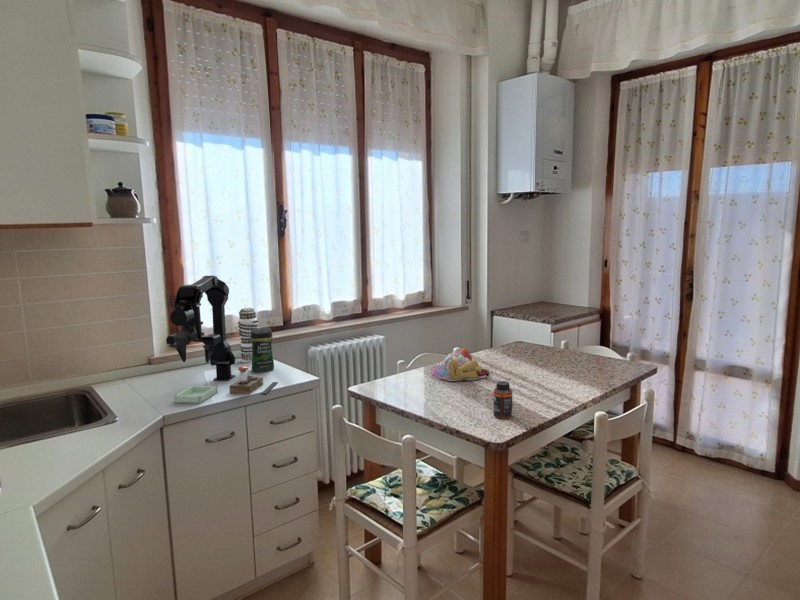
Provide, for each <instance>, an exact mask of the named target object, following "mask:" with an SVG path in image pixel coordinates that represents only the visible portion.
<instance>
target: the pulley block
mask: <svg viewBox="0 0 800 600" xmlns="http://www.w3.org/2000/svg"><path fill="white" fill-rule="evenodd" d="M247 380H248V384H247V385H245V384H241V381H240V378H239V379H238V380H237V381H235V382H233V383H231V384H230V385H229V394H237V395H238V394H239V395H241V394H242V395H251V394H252V393H253V392H255V391H257V390H258V388H260V387H262V386H263V385H264V377H263V376H258V375H257V374H249V375H248V374H247Z"/></svg>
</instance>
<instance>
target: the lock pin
mask: <svg viewBox="0 0 800 600" xmlns="http://www.w3.org/2000/svg"><path fill="white" fill-rule="evenodd" d="M237 369H238V371H239V379H240V381H241V384H245V385H247V384H248V380H247V375H248V370H249V366H248V365H242V366H238V368H237Z"/></svg>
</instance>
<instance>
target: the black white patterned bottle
mask: <svg viewBox="0 0 800 600" xmlns="http://www.w3.org/2000/svg"><path fill="white" fill-rule="evenodd" d="M238 314H239V315H238V317H239V318H238V322H237V324H238V328H239V329H238V332H239V333H238V334H239V338H240V359H241V362H242V363H252V342H251V340H250V335H251V330H253V329H259V328H258V327H259V325H258V324H257V323H259V321H258V320H257V310H255V308H253V307H243V308H241V309H240V310H239V312H238Z"/></svg>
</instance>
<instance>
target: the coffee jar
mask: <svg viewBox="0 0 800 600" xmlns="http://www.w3.org/2000/svg"><path fill="white" fill-rule="evenodd" d="M273 338H274V337H273V331H272V329H271V328H270V327H267V328H258V329H253V330H251V335H250V340H251V342H252V362H251V370H252V372H256V373H257V372H258V373H260V372H268V371H272V370H273V369H274V368H275V360H274V356H273V348H272V347H273V345H272V341H273Z"/></svg>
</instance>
